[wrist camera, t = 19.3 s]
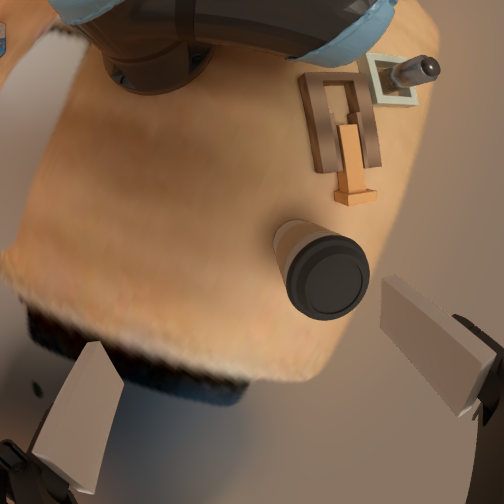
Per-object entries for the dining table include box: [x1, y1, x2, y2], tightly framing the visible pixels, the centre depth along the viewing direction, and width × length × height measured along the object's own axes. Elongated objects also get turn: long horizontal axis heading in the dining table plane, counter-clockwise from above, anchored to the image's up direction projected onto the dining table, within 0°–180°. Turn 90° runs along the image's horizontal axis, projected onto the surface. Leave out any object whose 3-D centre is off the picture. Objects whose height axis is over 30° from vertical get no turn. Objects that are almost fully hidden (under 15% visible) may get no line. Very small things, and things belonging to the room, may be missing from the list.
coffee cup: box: [273, 220, 370, 321], centre depth 32 cm, size 9×9×15 cm
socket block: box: [298, 72, 382, 174], centre depth 33 cm, size 14×9×3 cm, turn 10°
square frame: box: [357, 52, 419, 107], centre depth 31 cm, size 8×8×3 cm
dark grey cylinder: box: [378, 55, 440, 94], centre depth 27 cm, size 4×4×12 cm
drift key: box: [334, 124, 377, 206], centre depth 34 cm, size 10×4×4 cm, turn 10°
